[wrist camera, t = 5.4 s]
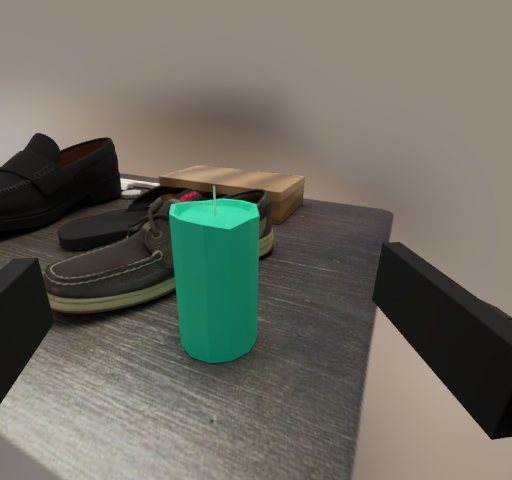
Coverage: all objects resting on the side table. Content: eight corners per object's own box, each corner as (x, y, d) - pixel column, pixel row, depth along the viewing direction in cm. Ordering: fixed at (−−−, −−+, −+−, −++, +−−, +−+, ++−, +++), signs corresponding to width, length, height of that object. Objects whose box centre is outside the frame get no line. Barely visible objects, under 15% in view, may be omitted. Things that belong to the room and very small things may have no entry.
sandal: (252, 223, 50) (253, 186, 47) (64, 262, 37) (53, 214, 35) (223, 206, 57) (222, 174, 55) (57, 234, 44) (47, 193, 42)
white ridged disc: (115, 196, 61) (115, 193, 61) (132, 191, 65) (131, 188, 64) (131, 199, 60) (130, 196, 59) (147, 194, 63) (146, 191, 63)
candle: (168, 359, 24) (150, 196, 19) (193, 310, 29) (183, 174, 24) (251, 367, 23) (254, 201, 18) (260, 315, 28) (264, 178, 24)
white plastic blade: (145, 194, 63) (144, 188, 63) (89, 185, 69) (88, 180, 69) (162, 187, 67) (161, 182, 67) (108, 180, 73) (107, 175, 73)
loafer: (-76, 238, 42) (-115, 139, 37) (100, 192, 66) (89, 128, 61) (-31, 251, 38) (-68, 143, 34) (138, 197, 62) (130, 129, 58)
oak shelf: (302, 204, 59) (304, 176, 57) (279, 224, 49) (280, 192, 47) (199, 189, 68) (198, 165, 66) (161, 204, 57) (158, 176, 56)
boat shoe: (34, 295, 31) (10, 213, 27) (237, 231, 47) (237, 174, 43) (64, 345, 25) (38, 247, 21) (286, 251, 41) (290, 187, 37)
